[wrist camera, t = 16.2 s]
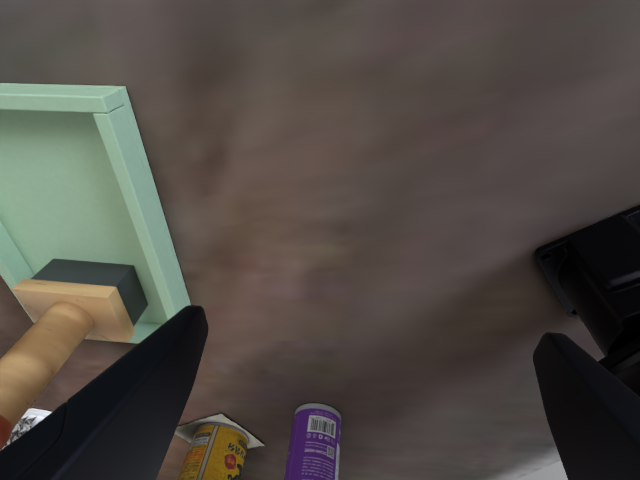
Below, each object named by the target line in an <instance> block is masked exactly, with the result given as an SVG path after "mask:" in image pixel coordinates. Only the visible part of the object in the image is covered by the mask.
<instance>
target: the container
mask: <svg viewBox="0 0 640 480" xmlns="http://www.w3.org/2000/svg"><path fill="white" fill-rule="evenodd" d="M340 434H341V415H340V413H339V412H338V411H337V410H335V409H334V408H332V407H330V406H327V405H324V404H318V403H310V404H304V405H302V406H300V407H298V408H297V409H296V411H295V415H294V420H293V426H292V432H291V438H290V445H289V451H288V457H287V463H286V469H285V475H284V480H338V472H339V453H340Z"/></svg>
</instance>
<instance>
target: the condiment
mask: <svg viewBox="0 0 640 480" xmlns="http://www.w3.org/2000/svg"><path fill="white" fill-rule="evenodd" d="M174 434H176V435H177V436H179V437H181V438H182V439H185V440H186V441H188V442H189V443H191V444H190V447H189V450H188V452H187V455H186V458H185V461H184V463H183V466H182V468H181V471H180V474H179V476H178V479H177V480H240V476H241V472H242V469H243V464H244V460H245V455H246V452H247V449H248V448H252V447H257V446H265V445H264V444H262V443H261V442H260V441H259V440H258V439H256V438H255V437H254V436H252V435H251V434H250V433H249V432H247V431H246V430H244V429H243V428H242V427H240V426H239V425H237V424H236V423H234V422H232V421H230V420H229V419H228V418H226V417H225V416H224V415H222V414H219V415H215V416H210V417H207V418H203V419H200V420H197V421H194V422H191V423H190V424H185V425H182V426H178V427H177V428H176V430H175V433H174Z"/></svg>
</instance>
